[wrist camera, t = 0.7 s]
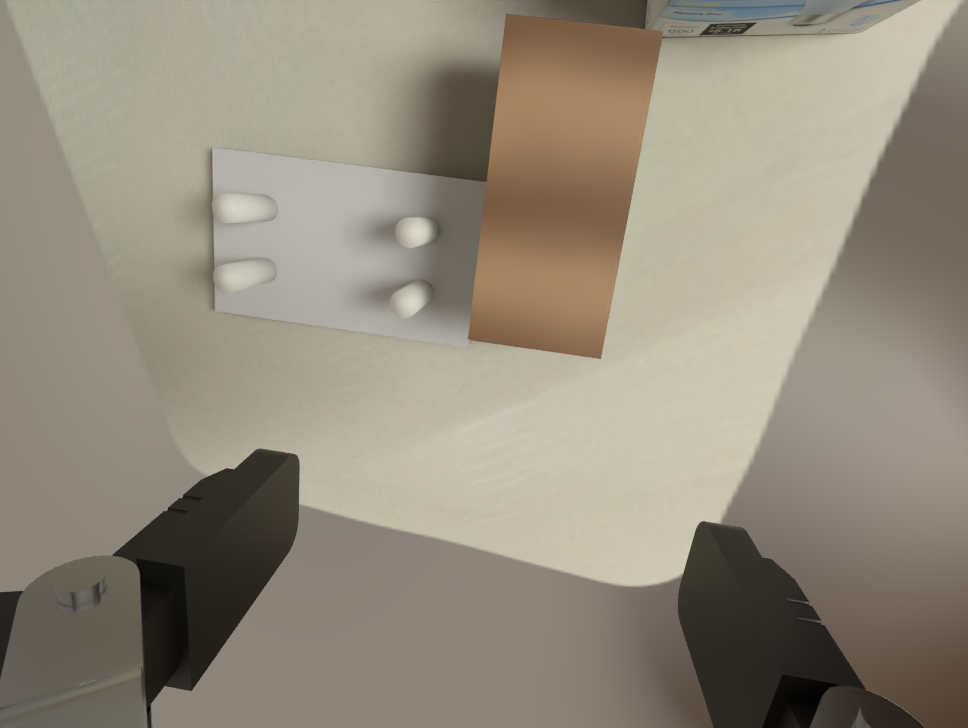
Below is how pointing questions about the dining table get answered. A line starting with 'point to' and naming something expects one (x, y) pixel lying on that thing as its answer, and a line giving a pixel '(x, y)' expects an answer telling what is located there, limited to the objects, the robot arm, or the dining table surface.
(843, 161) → the dining table surface
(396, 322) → the peg stand
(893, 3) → the light bulb box
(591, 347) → the board
